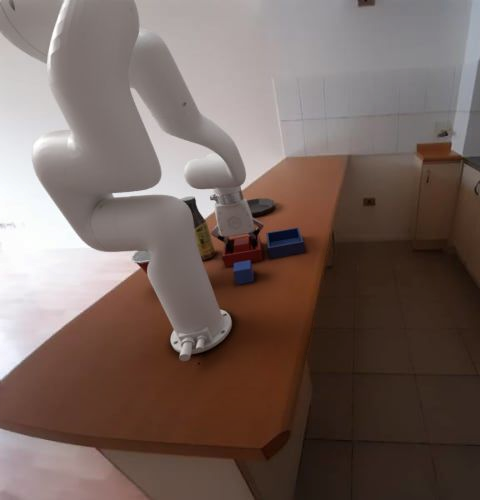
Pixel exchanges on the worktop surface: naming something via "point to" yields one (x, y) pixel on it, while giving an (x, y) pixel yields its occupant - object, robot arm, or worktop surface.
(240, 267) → the blue block
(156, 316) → the worktop surface
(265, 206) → the frying pan
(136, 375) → the worktop surface
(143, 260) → the plastic cup
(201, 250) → the sauce bottle
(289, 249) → the blue bin
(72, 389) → the worktop surface
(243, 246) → the red block
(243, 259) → the red bin
